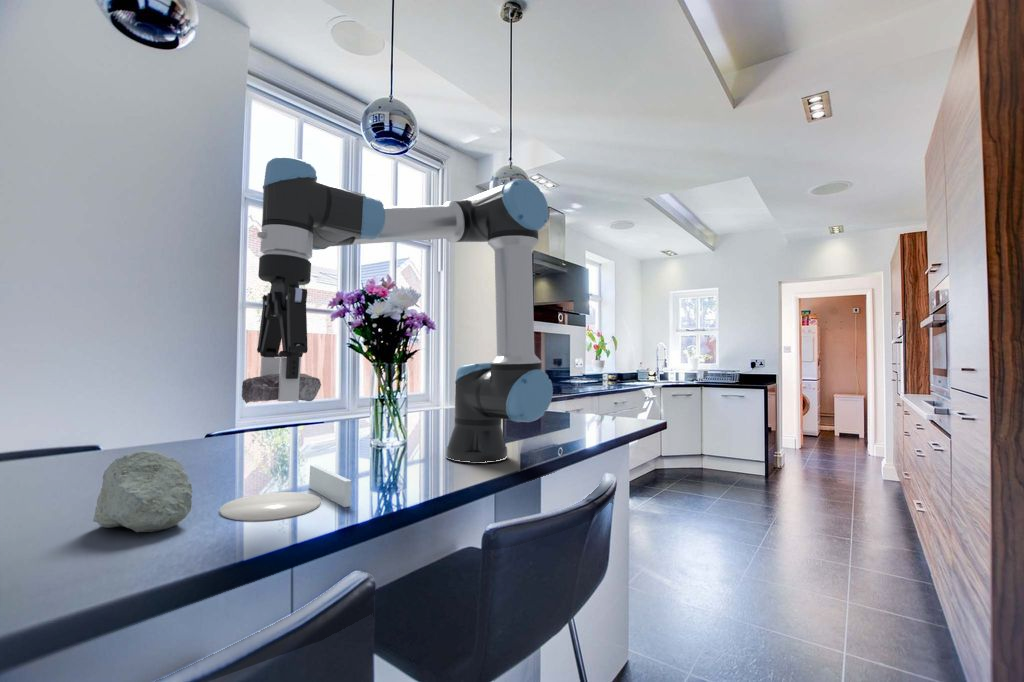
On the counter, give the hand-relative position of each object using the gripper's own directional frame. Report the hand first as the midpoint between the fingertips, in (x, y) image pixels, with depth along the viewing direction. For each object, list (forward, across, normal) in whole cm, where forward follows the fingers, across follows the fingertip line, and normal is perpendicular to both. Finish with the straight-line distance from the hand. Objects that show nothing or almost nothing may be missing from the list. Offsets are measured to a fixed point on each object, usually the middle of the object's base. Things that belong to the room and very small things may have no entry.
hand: (277, 398), depth 76 cm
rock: (+1, 0, 0) cm, 1 cm away
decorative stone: (+17, -1, -16) cm, 23 cm away
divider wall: (+17, 0, +9) cm, 19 cm away
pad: (+17, 0, 0) cm, 17 cm away
